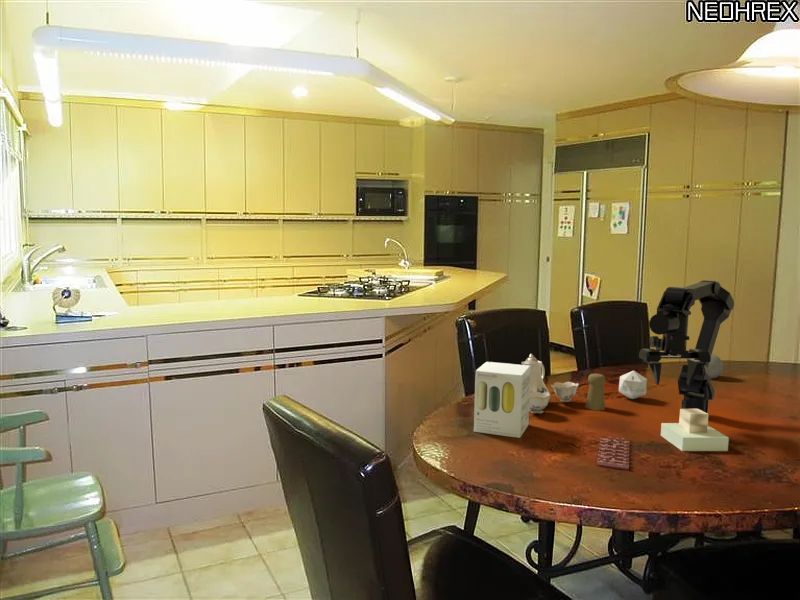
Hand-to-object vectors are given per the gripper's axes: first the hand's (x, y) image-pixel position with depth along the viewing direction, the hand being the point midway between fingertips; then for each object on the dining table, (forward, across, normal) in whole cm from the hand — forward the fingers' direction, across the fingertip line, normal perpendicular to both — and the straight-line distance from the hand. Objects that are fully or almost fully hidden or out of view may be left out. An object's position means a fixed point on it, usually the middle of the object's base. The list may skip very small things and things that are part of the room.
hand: (672, 384), depth 180 cm
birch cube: (+8, +1, +15) cm, 17 cm away
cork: (+12, +16, -17) cm, 26 cm away
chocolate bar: (+13, +26, +23) cm, 37 cm away
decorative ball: (+12, -42, -57) cm, 72 cm away
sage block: (+12, +1, +15) cm, 20 cm away
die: (+12, 0, -27) cm, 30 cm away
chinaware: (+12, +33, -19) cm, 40 cm away
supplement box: (+12, +50, +3) cm, 52 cm away
